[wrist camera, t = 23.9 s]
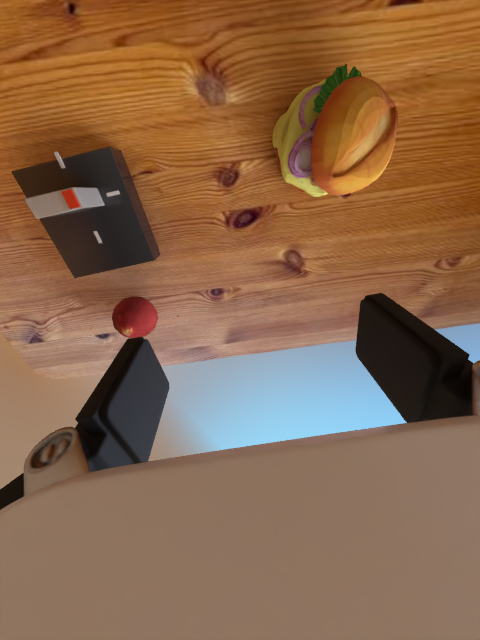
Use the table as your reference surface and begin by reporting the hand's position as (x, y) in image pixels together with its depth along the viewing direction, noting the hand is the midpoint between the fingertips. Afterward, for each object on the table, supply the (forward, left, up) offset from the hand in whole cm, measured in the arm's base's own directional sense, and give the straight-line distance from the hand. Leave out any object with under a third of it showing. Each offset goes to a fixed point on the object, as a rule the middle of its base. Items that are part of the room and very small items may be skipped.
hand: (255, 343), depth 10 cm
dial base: (-6, -16, -25) cm, 30 cm away
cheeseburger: (-8, +12, -25) cm, 29 cm away
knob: (-8, -16, -21) cm, 28 cm away
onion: (+7, -16, -25) cm, 30 cm away
